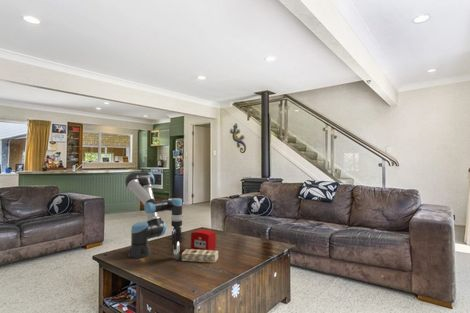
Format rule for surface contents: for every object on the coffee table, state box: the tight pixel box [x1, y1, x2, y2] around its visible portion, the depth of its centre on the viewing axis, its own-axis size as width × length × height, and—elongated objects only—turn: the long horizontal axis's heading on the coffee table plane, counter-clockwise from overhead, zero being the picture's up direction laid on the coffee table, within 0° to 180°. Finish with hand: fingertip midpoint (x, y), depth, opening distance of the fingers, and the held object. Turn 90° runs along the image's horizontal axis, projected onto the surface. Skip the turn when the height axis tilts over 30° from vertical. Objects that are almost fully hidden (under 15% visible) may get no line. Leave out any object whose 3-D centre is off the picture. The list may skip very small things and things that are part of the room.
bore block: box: [181, 248, 219, 264], centre depth 197 cm, size 24×10×5 cm, turn 81°
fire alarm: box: [190, 229, 217, 251], centre depth 217 cm, size 16×11×15 cm
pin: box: [173, 241, 180, 261], centre depth 198 cm, size 4×4×12 cm
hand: (176, 252), depth 198 cm, fingers closed on pin, 3 cm apart
